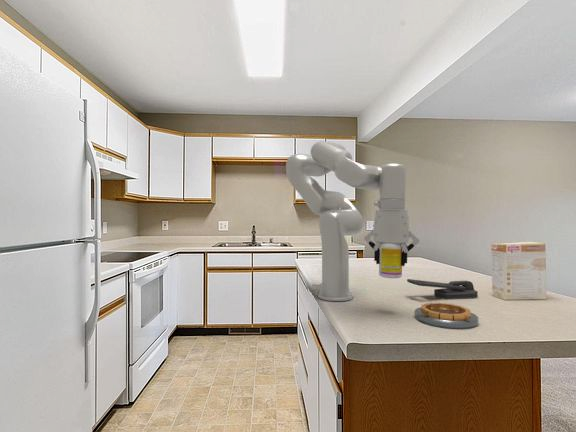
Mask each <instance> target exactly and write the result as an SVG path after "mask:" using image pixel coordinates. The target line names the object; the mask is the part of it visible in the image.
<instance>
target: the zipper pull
mask: <svg viewBox="0 0 576 432" xmlns="http://www.w3.org/2000/svg"><path fill="white" fill-rule="evenodd" d="M406 281H407V282H408V283H409V284H413V285H415V286H418V287H420V286H421V287H430V288H436V289H433V293H434V294H433V295H434V297H435V298H438V299H440V300H441V299H442V300H472V299H478V296H479V295H478V291H477V290H475V287H474V284H473V282H472V281H469V280H454V281H453V280H452V281H451V280H450V281H449V282H447V283H445V282H439V281H438V282H437V281H436V282H435V281H430V280H429V281H428V280H421V279H412V278H407V280H406Z"/></svg>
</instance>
